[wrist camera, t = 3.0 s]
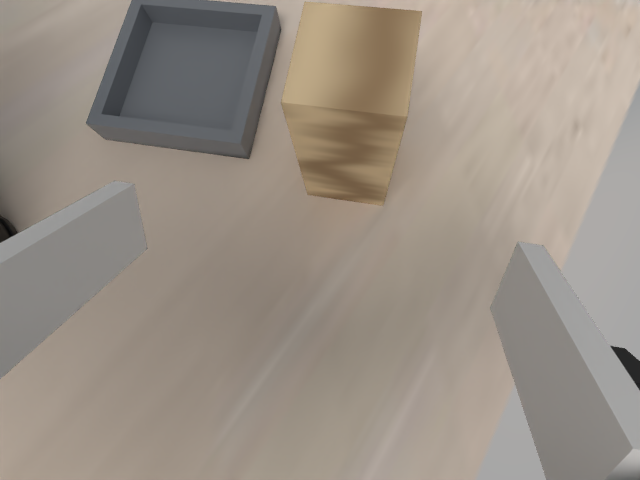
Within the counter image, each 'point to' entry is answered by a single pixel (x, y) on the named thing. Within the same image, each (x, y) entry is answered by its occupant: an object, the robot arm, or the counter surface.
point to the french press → (6, 229)
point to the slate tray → (188, 76)
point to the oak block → (350, 97)
